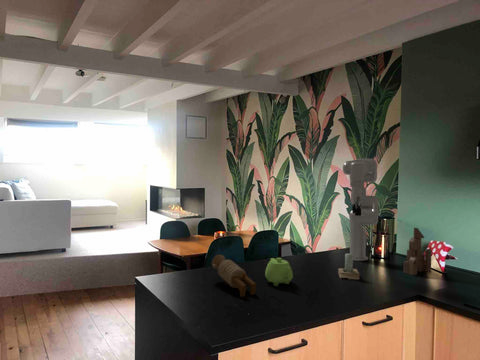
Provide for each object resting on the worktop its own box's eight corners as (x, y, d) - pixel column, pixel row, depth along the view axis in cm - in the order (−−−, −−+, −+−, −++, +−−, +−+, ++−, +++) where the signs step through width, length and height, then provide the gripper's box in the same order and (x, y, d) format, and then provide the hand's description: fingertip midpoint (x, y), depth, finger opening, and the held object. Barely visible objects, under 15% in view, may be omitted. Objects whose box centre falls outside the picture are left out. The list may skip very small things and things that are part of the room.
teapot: (300, 287, 194) (300, 261, 193) (275, 290, 189) (275, 264, 189) (282, 276, 213) (282, 253, 212) (259, 278, 208) (259, 254, 208)
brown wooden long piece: (256, 301, 184) (225, 273, 209) (259, 277, 182) (227, 252, 206) (237, 305, 179) (208, 276, 204) (240, 280, 176) (210, 254, 201)
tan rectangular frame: (338, 273, 219) (338, 268, 219) (356, 274, 218) (356, 268, 218) (340, 278, 209) (340, 272, 209) (359, 279, 208) (359, 273, 208)
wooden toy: (413, 275, 216) (414, 230, 215) (403, 272, 222) (404, 228, 221) (432, 272, 223) (433, 228, 222) (422, 269, 229) (423, 226, 228)
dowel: (344, 275, 216) (344, 253, 215) (351, 275, 215) (352, 253, 215) (345, 277, 212) (345, 255, 211) (353, 277, 211) (353, 255, 211)
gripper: (348, 183, 233) (347, 212, 234) (352, 185, 216) (352, 216, 217) (361, 183, 233) (360, 212, 233) (367, 185, 215) (366, 216, 216)
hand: (356, 214), depth 225 cm, fingers open, 9 cm apart
